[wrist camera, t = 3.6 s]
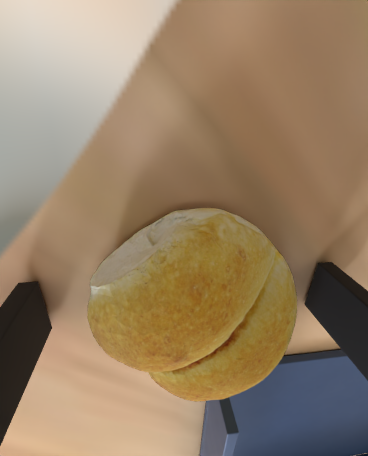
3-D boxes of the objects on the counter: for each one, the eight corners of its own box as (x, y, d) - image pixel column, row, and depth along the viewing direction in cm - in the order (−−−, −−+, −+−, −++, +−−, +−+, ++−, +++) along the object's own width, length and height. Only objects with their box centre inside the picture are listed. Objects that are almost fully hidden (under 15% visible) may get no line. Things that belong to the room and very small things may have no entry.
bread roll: (182, 369, 14) (193, 455, 11) (64, 279, 10) (20, 369, 7) (304, 298, 13) (363, 369, 9) (222, 165, 9) (272, 200, 5)
